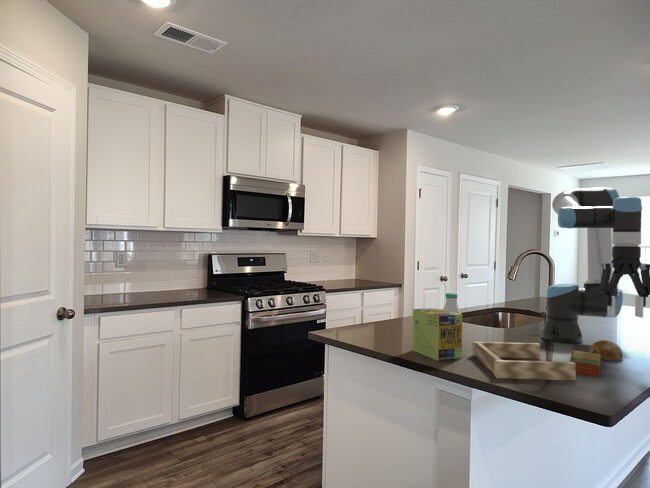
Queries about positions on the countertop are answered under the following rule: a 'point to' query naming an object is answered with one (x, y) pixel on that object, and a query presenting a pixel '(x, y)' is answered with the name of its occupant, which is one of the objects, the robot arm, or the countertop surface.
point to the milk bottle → (451, 303)
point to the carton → (586, 363)
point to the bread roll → (607, 350)
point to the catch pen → (521, 369)
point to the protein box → (437, 333)
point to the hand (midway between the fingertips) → (625, 316)
